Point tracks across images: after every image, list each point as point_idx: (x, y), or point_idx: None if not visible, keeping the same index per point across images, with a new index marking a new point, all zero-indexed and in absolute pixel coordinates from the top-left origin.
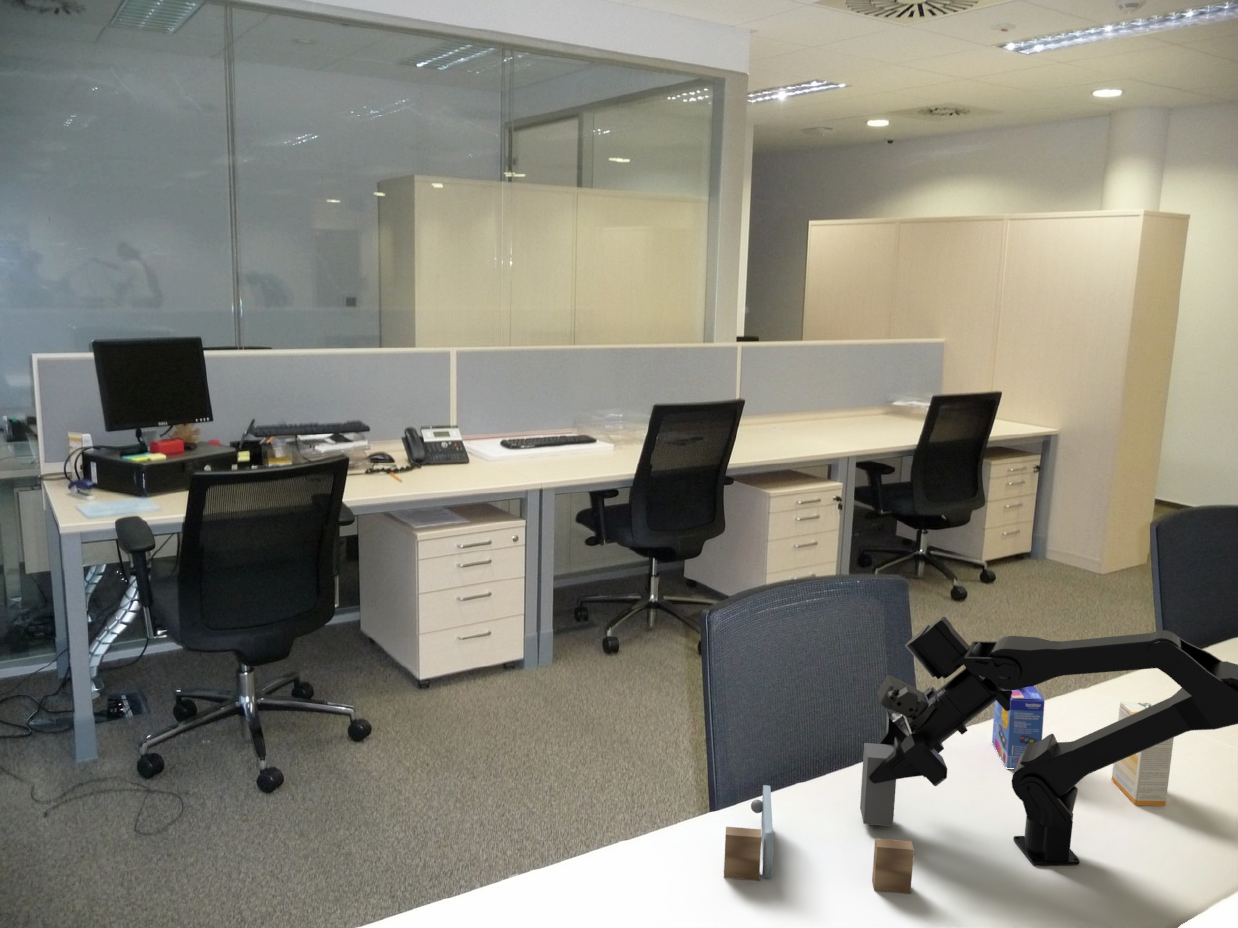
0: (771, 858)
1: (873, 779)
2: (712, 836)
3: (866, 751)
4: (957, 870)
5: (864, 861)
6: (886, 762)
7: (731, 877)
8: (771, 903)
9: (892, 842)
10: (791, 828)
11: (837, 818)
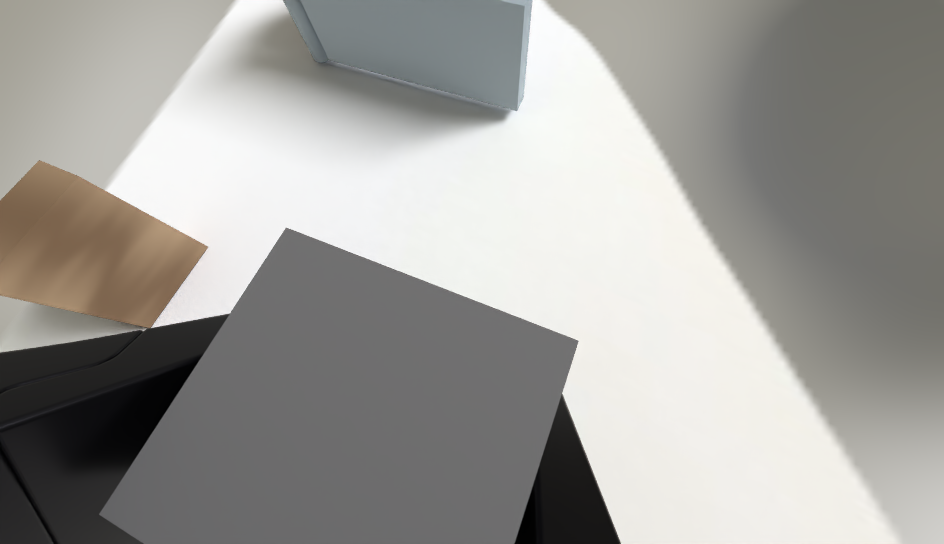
0: (292, 17)
1: None
2: None
3: (391, 270)
4: None
5: None
6: (115, 338)
7: None
8: (248, 45)
9: (22, 220)
10: (489, 163)
11: (511, 301)
